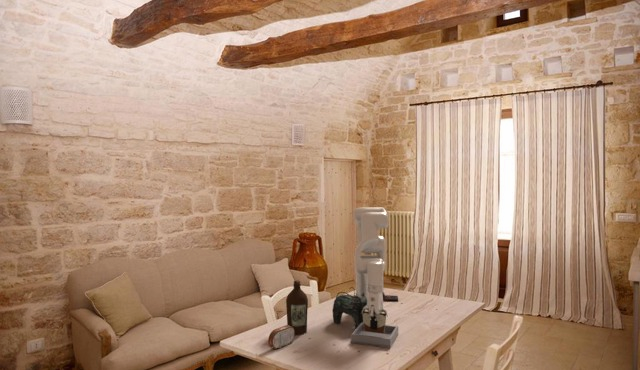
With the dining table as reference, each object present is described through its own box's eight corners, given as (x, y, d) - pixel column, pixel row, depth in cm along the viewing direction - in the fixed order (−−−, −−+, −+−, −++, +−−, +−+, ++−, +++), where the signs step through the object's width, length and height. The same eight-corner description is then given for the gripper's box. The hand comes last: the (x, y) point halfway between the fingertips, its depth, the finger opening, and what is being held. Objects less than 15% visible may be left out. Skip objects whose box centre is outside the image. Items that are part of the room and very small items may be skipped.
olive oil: (284, 329, 226) (284, 279, 225) (305, 327, 228) (305, 277, 228) (288, 336, 216) (287, 284, 215) (310, 334, 218) (309, 282, 217)
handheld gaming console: (398, 302, 274) (398, 285, 274) (378, 301, 276) (378, 285, 275) (397, 297, 284) (397, 281, 283) (377, 297, 285) (377, 281, 285)
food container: (389, 330, 213) (390, 309, 213) (387, 334, 208) (387, 312, 208) (364, 327, 218) (364, 306, 217) (360, 331, 212) (361, 309, 212)
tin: (291, 340, 211) (290, 322, 210) (296, 342, 209) (296, 323, 208) (267, 350, 199) (267, 331, 199) (272, 352, 197) (272, 332, 197)
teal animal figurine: (368, 329, 226) (368, 288, 226) (360, 332, 221) (360, 291, 221) (337, 320, 239) (337, 282, 239) (329, 323, 235) (329, 284, 234)
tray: (351, 343, 207) (351, 334, 207) (361, 330, 224) (361, 322, 224) (390, 348, 201) (390, 339, 201) (398, 334, 217) (398, 326, 217)
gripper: (378, 293, 202) (379, 333, 203) (387, 284, 218) (387, 322, 219) (362, 291, 205) (362, 331, 205) (371, 283, 221) (371, 320, 221)
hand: (375, 326), depth 212 cm, fingers closed on food container, 5 cm apart
